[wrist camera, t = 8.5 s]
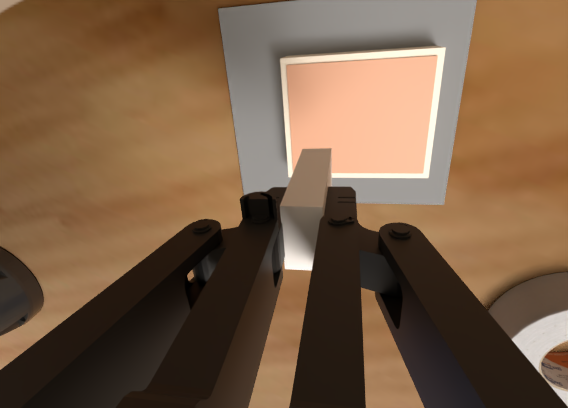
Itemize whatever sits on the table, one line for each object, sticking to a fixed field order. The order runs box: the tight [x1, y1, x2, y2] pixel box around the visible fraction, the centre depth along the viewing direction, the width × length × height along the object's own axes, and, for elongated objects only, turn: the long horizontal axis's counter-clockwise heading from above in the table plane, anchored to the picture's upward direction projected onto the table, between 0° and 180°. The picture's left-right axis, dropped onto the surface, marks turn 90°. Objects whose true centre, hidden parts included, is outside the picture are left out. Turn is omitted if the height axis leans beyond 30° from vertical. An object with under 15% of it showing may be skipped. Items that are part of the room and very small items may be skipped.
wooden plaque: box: [280, 46, 446, 178], centre depth 28 cm, size 3×10×12 cm
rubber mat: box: [218, 0, 477, 205], centre depth 30 cm, size 20×18×1 cm
